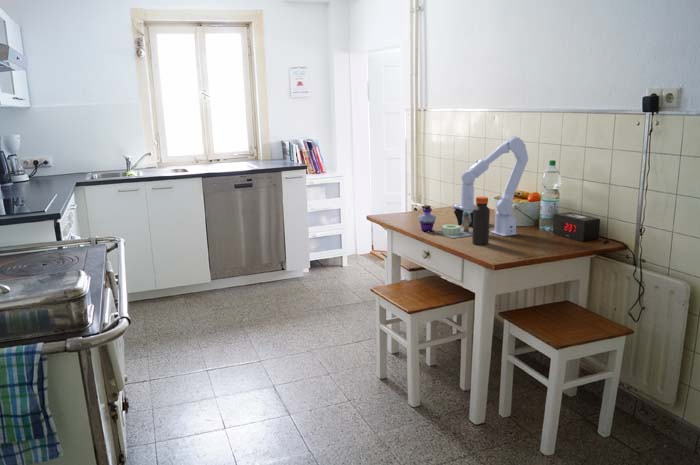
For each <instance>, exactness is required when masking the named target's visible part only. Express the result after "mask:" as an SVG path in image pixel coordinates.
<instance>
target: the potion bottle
mask: <svg viewBox="0 0 700 465" xmlns="http://www.w3.org/2000/svg"><path fill="white" fill-rule="evenodd" d="M432 211H433V208H431V205H428V204H427V205H424V206H423V207H422V212H423V214H419V215H418V222H419V224H420V230H422V231H421V232H424V231H429V232H433V229H434V226H435V225H434V224H435V223H436V218H437V216H436V215H435V214H431V212H432ZM429 232H428V233H429Z"/></svg>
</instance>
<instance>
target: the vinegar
mask: <svg viewBox="0 0 700 465" xmlns="http://www.w3.org/2000/svg"><path fill="white" fill-rule="evenodd" d="M475 203H476V205H475V206H474V207H475V208H474V210H473V227H472V231H473V236H471V238H472V239H471V240H472V242H471V243H472V244H473V245H476V246H486V245H489V236H490V219H491V218H490V213H491V210H490V208H489V207H488V204H489V198H488V197H487V196H477V197H476V198H475Z"/></svg>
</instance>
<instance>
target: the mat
mask: <svg viewBox="0 0 700 465" xmlns="http://www.w3.org/2000/svg"><path fill="white" fill-rule="evenodd" d="M434 233H435V234H438V235H441V236H445V237H446V238H450V239H458V238H460V239H461V238H466V237H473V230H471V229H469V232H464V227H460V234H457V235H447V234H443V233H442V230H436V231H434Z"/></svg>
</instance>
